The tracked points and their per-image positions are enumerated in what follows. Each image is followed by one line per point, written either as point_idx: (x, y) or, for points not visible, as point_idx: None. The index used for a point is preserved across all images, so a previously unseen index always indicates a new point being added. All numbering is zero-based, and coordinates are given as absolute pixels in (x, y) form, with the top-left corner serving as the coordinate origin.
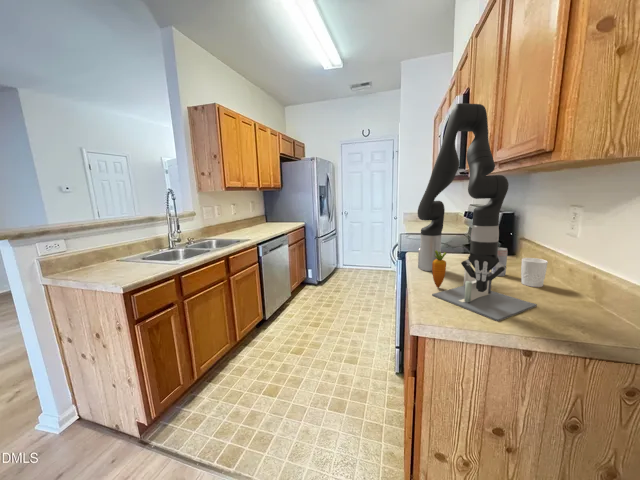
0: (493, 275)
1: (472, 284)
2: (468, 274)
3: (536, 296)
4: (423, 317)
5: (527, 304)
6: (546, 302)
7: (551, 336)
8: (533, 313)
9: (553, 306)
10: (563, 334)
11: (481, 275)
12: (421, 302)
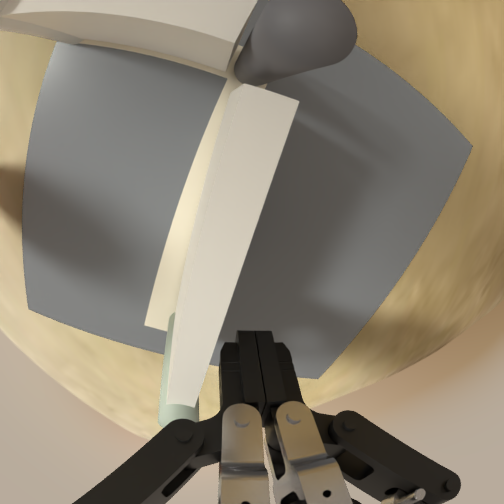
0: (352, 471)
1: (196, 396)
2: (28, 19)
3: (462, 5)
4: (143, 429)
5: (446, 167)
6: (490, 75)
7: (418, 355)
8: (439, 238)
9: (500, 116)
10: (445, 329)
11: (256, 442)
12: (67, 374)
